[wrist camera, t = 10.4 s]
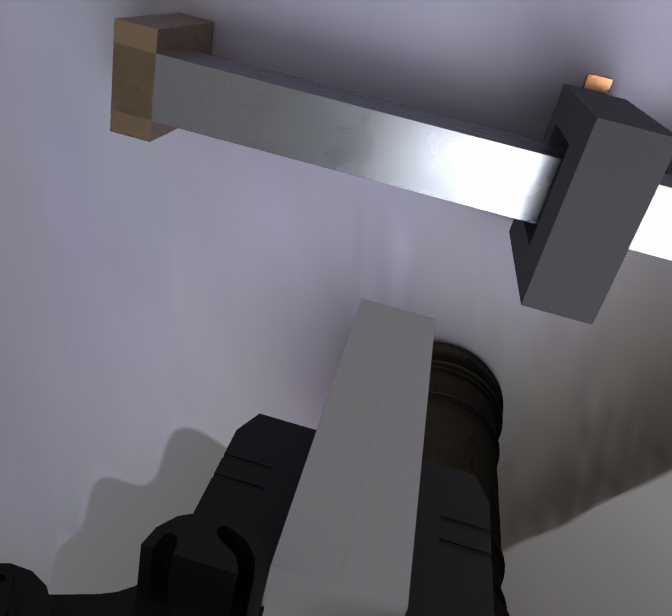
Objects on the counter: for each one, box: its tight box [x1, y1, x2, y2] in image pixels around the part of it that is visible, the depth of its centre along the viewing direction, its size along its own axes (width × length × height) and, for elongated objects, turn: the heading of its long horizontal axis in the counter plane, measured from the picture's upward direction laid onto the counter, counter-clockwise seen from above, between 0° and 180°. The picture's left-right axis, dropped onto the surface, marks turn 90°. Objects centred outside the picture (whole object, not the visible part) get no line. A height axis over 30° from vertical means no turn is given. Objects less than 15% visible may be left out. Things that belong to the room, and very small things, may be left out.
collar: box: [509, 84, 672, 324], centre depth 28 cm, size 3×8×9 cm, turn 168°
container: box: [422, 343, 509, 616], centre depth 34 cm, size 9×9×18 cm
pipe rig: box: [110, 13, 672, 260], centre depth 31 cm, size 30×9×7 cm, turn 78°
